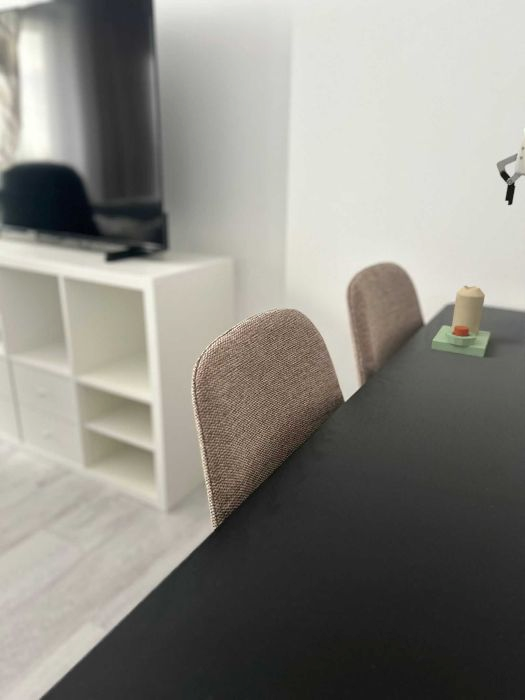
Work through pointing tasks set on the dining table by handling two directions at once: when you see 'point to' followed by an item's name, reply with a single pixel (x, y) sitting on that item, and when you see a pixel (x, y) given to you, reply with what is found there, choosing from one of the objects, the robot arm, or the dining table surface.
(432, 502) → the dining table surface
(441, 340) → the green stand
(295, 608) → the dining table surface
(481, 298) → the candle
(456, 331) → the power button
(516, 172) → the robot arm
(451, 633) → the dining table surface
